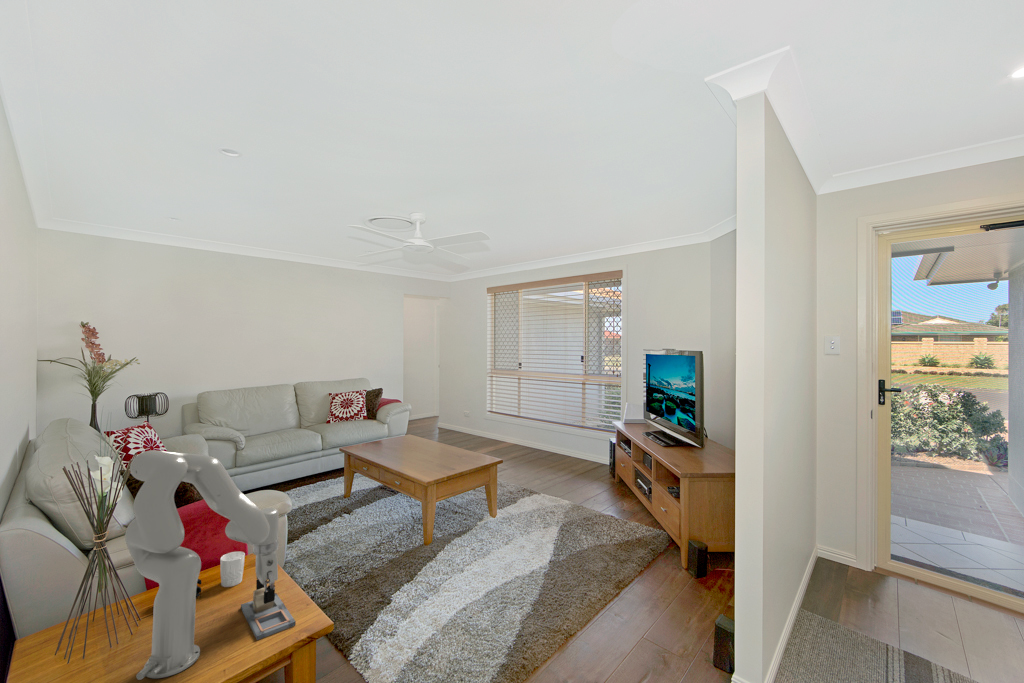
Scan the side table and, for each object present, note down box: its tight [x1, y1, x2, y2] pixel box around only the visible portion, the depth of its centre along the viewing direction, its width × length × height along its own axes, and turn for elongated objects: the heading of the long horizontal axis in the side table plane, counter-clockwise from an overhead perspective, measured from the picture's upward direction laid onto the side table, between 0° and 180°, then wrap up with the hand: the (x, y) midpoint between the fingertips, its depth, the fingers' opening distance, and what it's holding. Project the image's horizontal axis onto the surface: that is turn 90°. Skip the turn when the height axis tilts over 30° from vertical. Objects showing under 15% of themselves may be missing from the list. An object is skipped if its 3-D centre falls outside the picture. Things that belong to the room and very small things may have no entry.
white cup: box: [219, 551, 246, 588], centre depth 165 cm, size 8×8×10 cm
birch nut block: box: [252, 585, 273, 613], centre depth 148 cm, size 5×5×6 cm
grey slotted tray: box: [240, 592, 297, 641], centre depth 144 cm, size 22×11×2 cm, turn 43°
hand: (265, 595), depth 149 cm, fingers open, 9 cm apart
